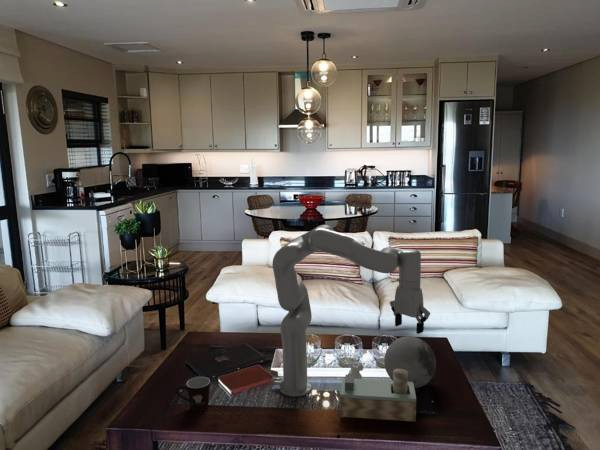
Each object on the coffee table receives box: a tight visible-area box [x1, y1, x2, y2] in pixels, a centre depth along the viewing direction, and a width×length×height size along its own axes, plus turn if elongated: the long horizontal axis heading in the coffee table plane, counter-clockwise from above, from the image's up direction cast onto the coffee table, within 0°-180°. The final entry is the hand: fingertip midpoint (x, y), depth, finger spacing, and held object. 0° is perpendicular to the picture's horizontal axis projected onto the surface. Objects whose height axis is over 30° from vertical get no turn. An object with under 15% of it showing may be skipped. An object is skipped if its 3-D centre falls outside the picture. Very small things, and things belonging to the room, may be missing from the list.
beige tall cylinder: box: [392, 369, 408, 394], centre depth 169 cm, size 5×5×15 cm
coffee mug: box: [176, 376, 211, 412], centre depth 177 cm, size 12×9×10 cm
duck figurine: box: [347, 360, 364, 379], centre depth 190 cm, size 12×8×11 cm
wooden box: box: [339, 387, 417, 422], centre depth 171 cm, size 26×12×8 cm, turn 82°
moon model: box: [383, 335, 437, 389], centre depth 189 cm, size 20×20×20 cm
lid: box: [339, 374, 417, 403], centre depth 170 cm, size 26×12×4 cm, turn 82°
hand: (408, 329), depth 173 cm, fingers open, 9 cm apart
